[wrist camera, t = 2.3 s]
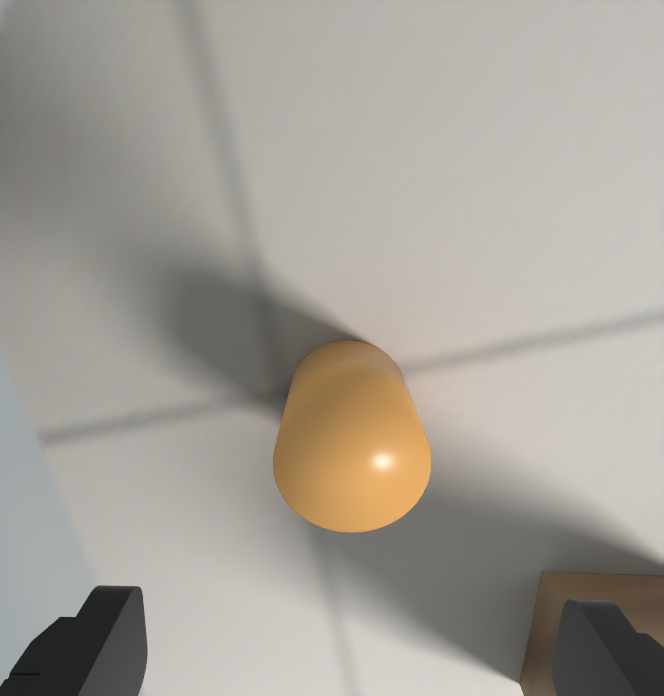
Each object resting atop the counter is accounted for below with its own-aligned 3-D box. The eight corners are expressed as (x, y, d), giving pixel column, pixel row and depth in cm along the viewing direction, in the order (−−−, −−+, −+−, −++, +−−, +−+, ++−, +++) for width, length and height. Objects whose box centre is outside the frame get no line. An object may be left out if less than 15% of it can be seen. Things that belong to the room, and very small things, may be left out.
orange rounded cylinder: (290, 337, 19) (273, 388, 14) (410, 342, 19) (439, 395, 14) (289, 445, 20) (272, 530, 15) (400, 449, 20) (423, 535, 15)
